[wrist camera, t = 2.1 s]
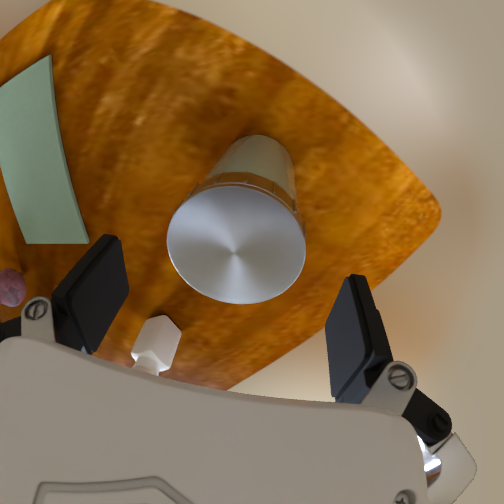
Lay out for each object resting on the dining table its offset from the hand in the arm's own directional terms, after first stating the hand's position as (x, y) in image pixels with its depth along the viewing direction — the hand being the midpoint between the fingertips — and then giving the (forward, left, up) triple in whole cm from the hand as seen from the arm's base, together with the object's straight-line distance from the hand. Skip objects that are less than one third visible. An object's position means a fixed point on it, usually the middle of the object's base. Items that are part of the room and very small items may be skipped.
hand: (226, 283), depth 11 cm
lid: (0, 0, -2) cm, 2 cm away
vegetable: (+13, -39, -14) cm, 43 cm away
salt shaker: (+20, -13, -14) cm, 27 cm away
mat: (-4, -26, -14) cm, 30 cm away
